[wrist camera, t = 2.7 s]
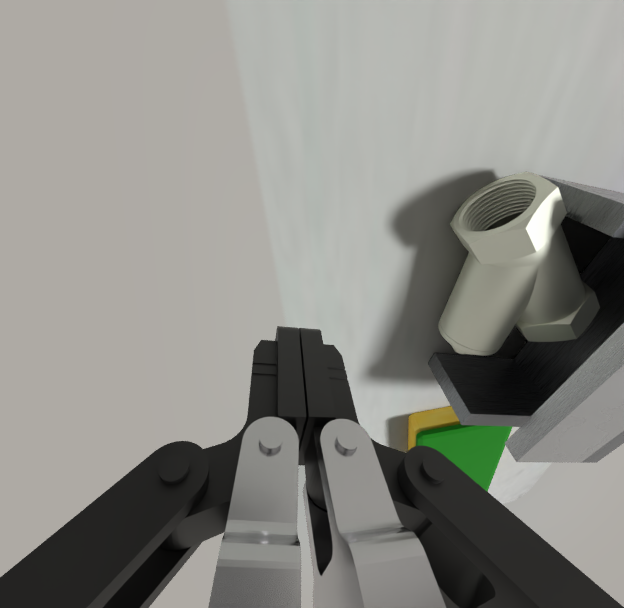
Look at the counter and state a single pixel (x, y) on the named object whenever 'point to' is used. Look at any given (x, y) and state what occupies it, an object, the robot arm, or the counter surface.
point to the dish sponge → (460, 442)
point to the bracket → (557, 362)
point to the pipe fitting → (515, 269)
